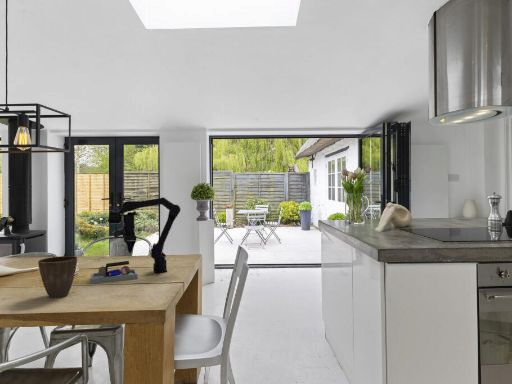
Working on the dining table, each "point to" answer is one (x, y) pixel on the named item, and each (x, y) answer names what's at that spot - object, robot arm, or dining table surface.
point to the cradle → (113, 277)
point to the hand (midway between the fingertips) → (129, 251)
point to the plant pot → (57, 274)
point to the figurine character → (123, 271)
